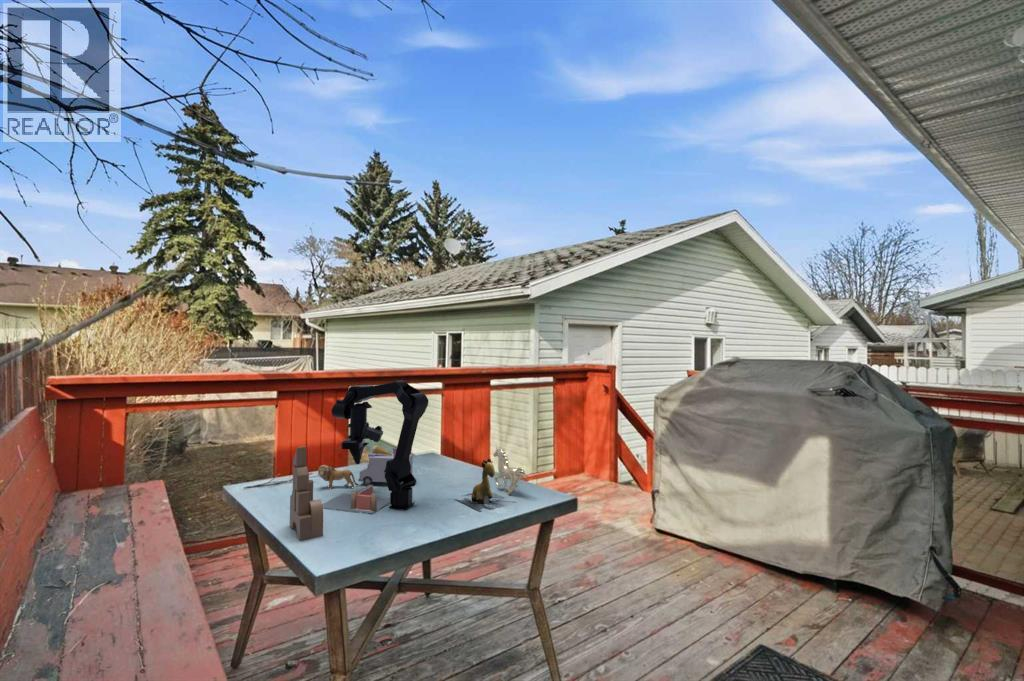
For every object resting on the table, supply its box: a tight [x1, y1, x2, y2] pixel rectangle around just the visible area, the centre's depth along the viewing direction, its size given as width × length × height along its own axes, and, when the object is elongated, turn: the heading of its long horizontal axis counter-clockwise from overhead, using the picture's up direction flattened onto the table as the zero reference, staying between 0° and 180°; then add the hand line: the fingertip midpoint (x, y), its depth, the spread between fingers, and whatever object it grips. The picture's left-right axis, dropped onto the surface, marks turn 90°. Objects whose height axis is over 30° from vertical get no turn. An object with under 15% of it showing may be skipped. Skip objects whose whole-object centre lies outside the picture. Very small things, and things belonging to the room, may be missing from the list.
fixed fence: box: [350, 491, 378, 511], centre depth 163 cm, size 9×2×6 cm, turn 75°
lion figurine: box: [317, 464, 359, 490], centre depth 188 cm, size 15×5×9 cm, turn 108°
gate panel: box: [356, 484, 374, 496], centre depth 170 cm, size 10×1×4 cm, turn 167°
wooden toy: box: [289, 445, 324, 541], centre depth 146 cm, size 15×7×25 cm, turn 35°
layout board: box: [322, 493, 390, 515], centre depth 170 cm, size 21×15×1 cm
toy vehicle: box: [357, 445, 414, 486], centre depth 193 cm, size 9×20×15 cm, turn 88°
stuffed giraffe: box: [453, 457, 518, 513], centre depth 175 cm, size 16×18×16 cm
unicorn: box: [493, 444, 527, 496], centre depth 184 cm, size 20×4×17 cm, turn 37°
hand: (357, 464), depth 176 cm, fingers closed
